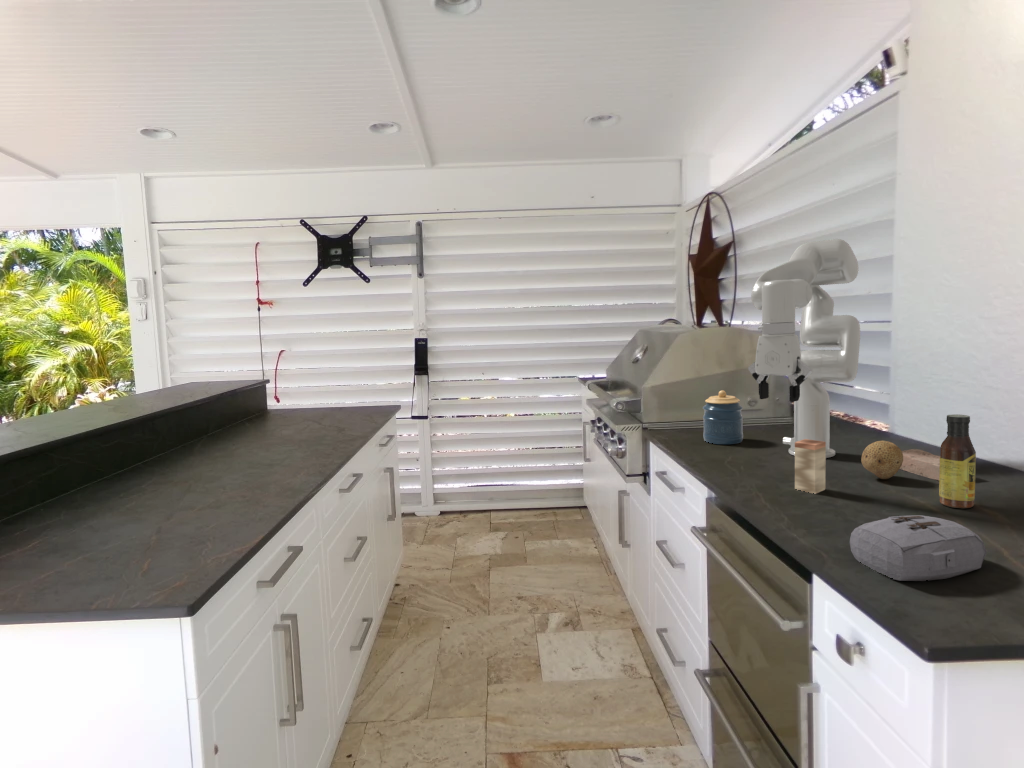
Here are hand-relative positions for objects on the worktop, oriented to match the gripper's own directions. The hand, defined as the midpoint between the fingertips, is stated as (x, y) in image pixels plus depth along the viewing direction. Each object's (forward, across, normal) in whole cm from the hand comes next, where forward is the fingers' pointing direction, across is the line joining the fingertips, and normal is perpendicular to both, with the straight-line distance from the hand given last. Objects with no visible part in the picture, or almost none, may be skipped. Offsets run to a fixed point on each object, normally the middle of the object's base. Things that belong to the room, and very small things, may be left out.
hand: (778, 399), depth 148 cm
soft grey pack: (+22, +41, -28) cm, 54 cm away
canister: (+22, -39, +33) cm, 56 cm away
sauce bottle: (+22, +35, +10) cm, 43 cm away
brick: (+22, +22, +34) cm, 46 cm away
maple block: (+22, +8, 0) cm, 23 cm away
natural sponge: (+22, +16, +20) cm, 34 cm away
